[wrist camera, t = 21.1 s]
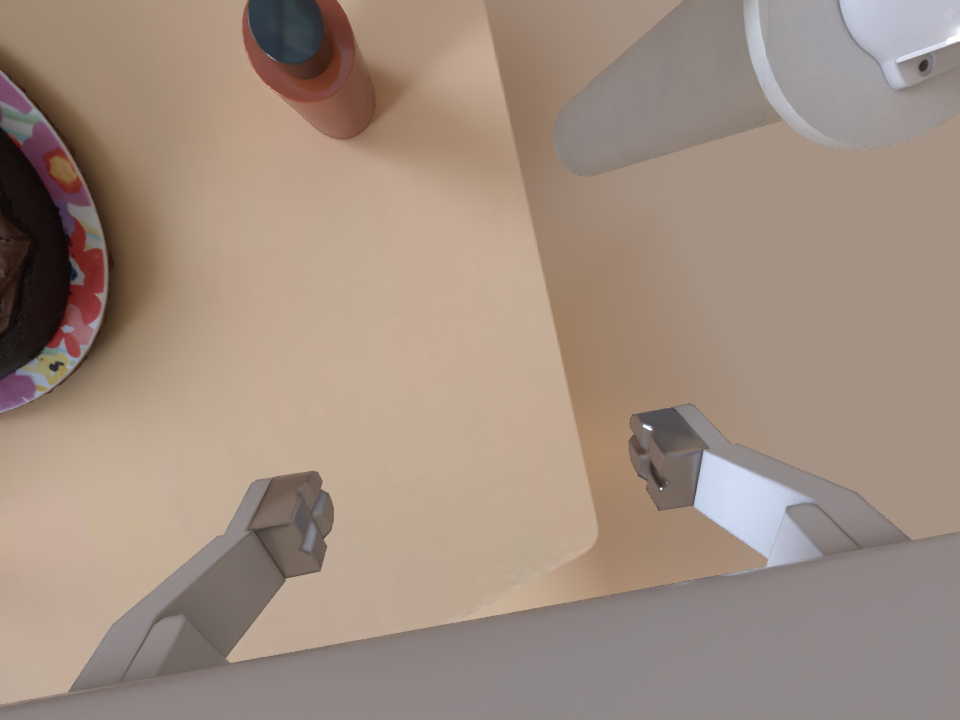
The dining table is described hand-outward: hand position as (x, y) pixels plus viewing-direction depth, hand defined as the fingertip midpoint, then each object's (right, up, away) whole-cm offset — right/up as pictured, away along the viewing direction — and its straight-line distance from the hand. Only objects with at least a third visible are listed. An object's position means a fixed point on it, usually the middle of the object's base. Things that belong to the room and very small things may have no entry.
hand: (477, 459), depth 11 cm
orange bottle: (-10, +21, +18) cm, 29 cm away
